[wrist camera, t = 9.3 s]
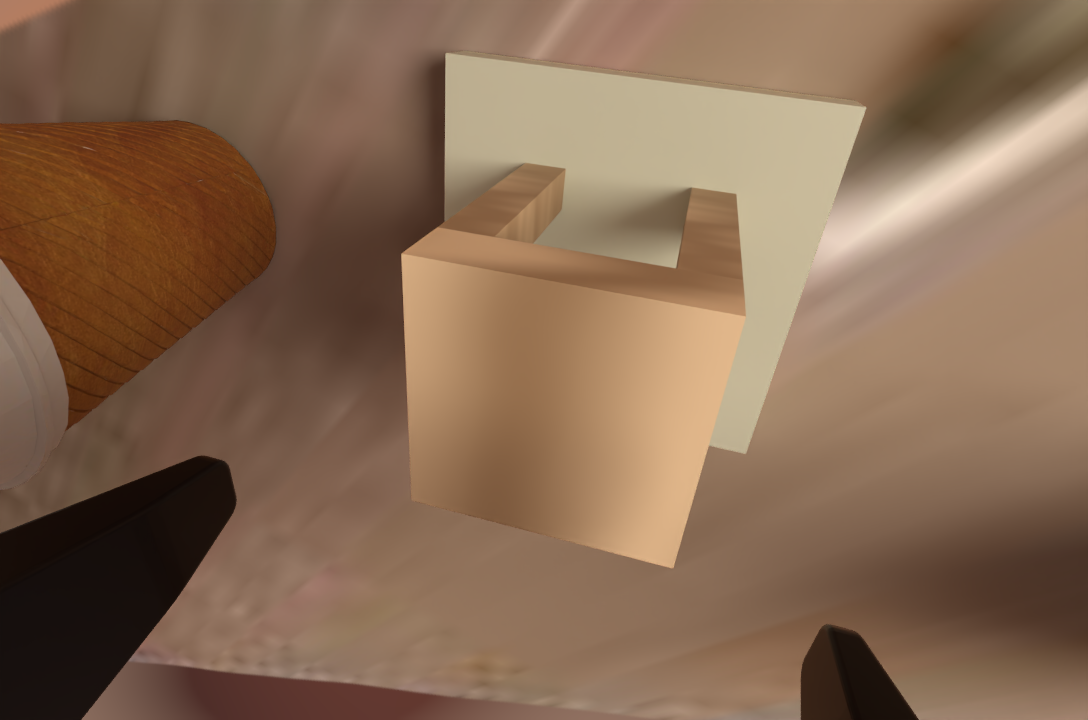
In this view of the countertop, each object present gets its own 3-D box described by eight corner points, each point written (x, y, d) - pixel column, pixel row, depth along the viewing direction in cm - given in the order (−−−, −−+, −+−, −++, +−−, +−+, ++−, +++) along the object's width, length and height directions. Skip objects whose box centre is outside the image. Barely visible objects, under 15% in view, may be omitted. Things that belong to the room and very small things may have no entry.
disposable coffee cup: (350, 176, 21) (-5, 326, 11) (276, 360, 26) (-11, 580, 16) (109, 9, 20) (-520, -2, 10) (82, 233, 25) (-350, 377, 15)
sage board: (854, 100, 16) (866, 107, 15) (744, 428, 21) (745, 454, 20) (465, 50, 18) (445, 52, 16) (458, 364, 23) (443, 384, 22)
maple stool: (736, 193, 16) (746, 316, 10) (690, 377, 19) (673, 568, 13) (525, 162, 17) (401, 253, 11) (513, 341, 20) (411, 500, 14)
